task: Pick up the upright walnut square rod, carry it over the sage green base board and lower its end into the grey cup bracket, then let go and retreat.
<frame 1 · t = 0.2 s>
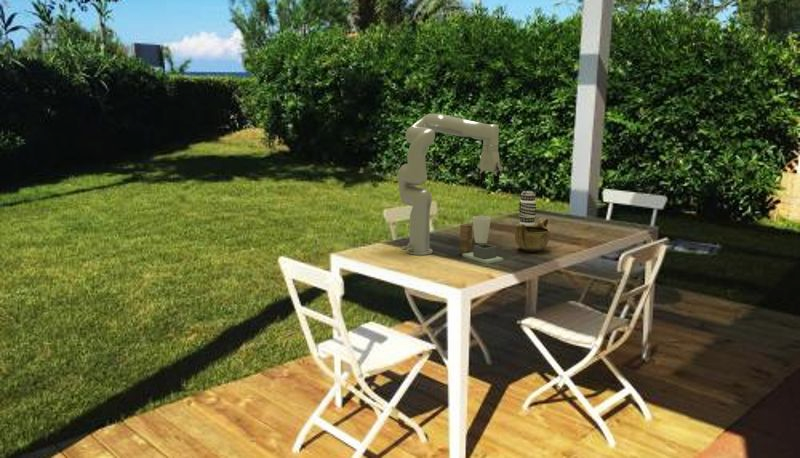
hand: (489, 182, 342), 31 cm above the table, tool pointing down, fingers open, 9 cm apart
foam cup: (481, 242, 346), on the table
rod: (465, 253, 321), on the table
brown round bowl: (531, 250, 328), on the table
cup bracket: (482, 258, 312), on the table
decorative candle: (526, 238, 356), on the table
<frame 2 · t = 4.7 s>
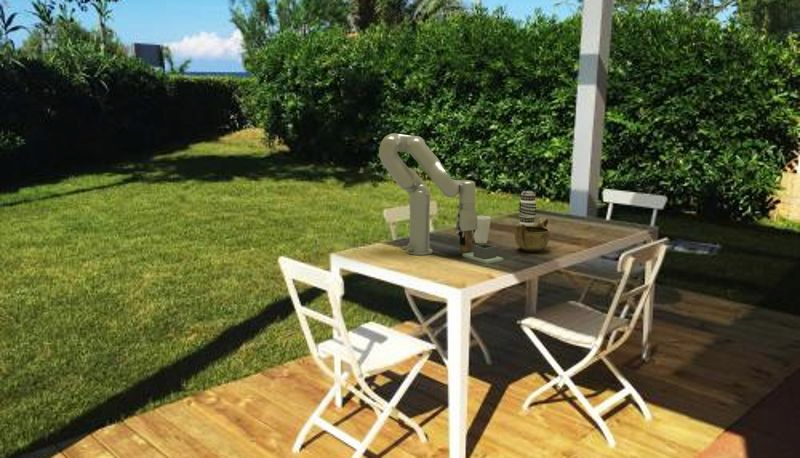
hand: (465, 243, 320), 5 cm above the table, tool pointing down, fingers closed on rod, 4 cm apart
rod: (465, 253, 321), on the table, touching gripper
everything else where it was.
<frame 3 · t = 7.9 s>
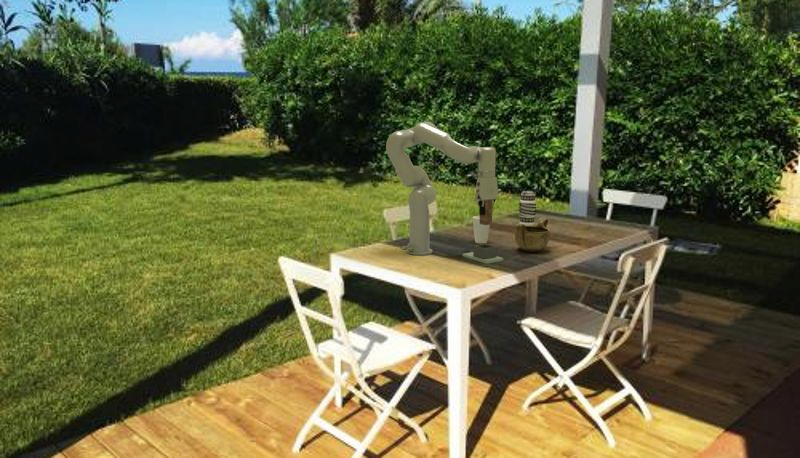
hand: (485, 213, 306), 21 cm above the table, tool pointing down, fingers closed on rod, 4 cm apart
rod: (485, 224, 307), point 17 cm above the table, touching gripper
everything else where it was.
when the fingers open (8 cm above the table, at t = 11.2 s): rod drops 2 cm, resting on cup bracket.
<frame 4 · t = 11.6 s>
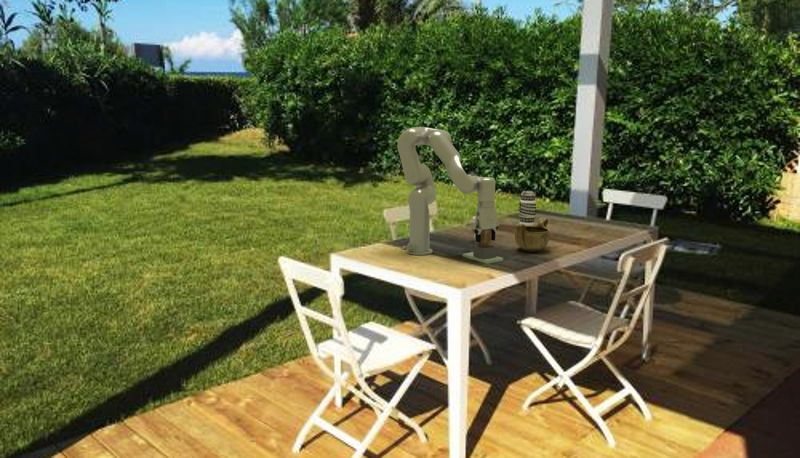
hand: (485, 241, 309), 9 cm above the table, tool pointing down, fingers open, 8 cm apart
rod: (484, 256, 310), point 1 cm above the table, touching cup bracket
everything else where it was.
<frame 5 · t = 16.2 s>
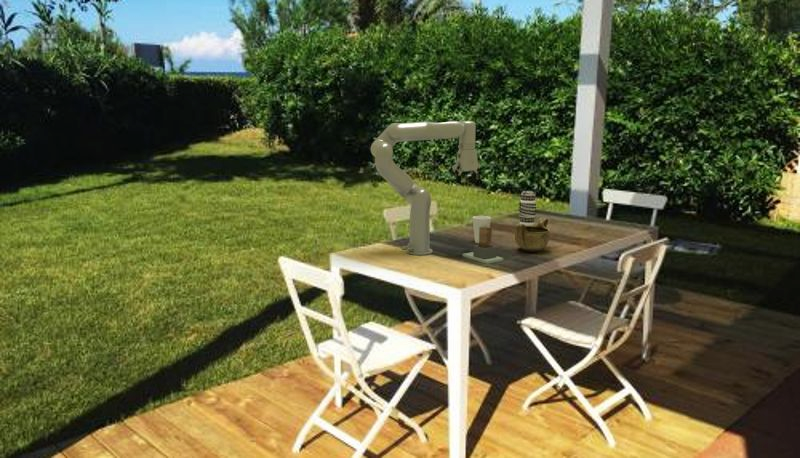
hand: (466, 182, 322), 33 cm above the table, tool pointing down, fingers open, 9 cm apart
nothing on the table moved.
at the end: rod 0.0 cm from the target spot on the cup bracket, point 1.2 cm above the cup bracket's base; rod tilted 0°; the gripper is holding nothing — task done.
